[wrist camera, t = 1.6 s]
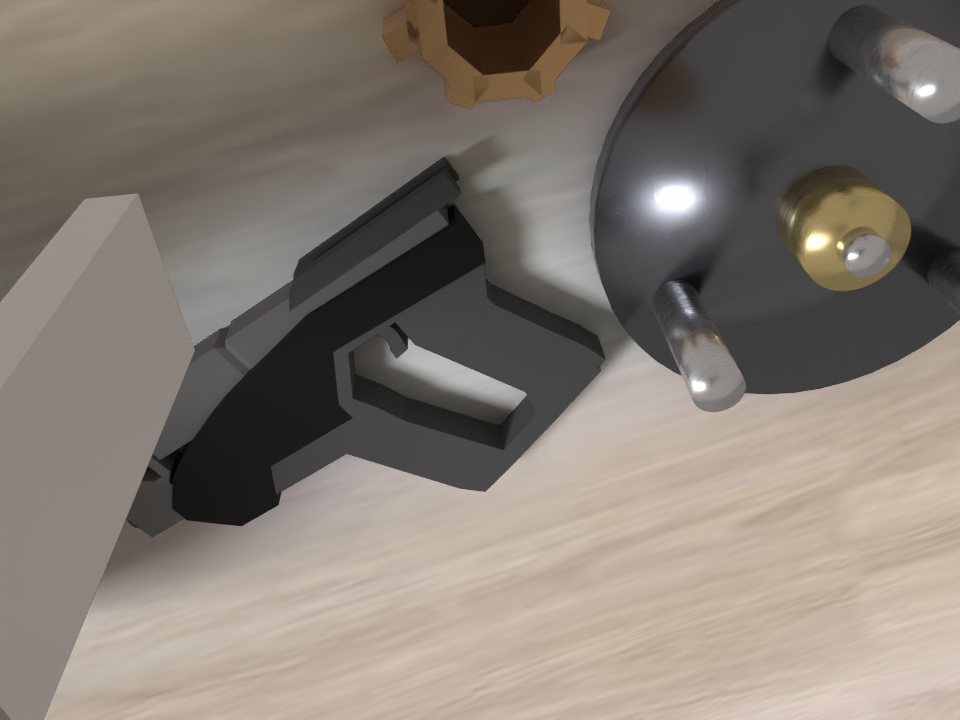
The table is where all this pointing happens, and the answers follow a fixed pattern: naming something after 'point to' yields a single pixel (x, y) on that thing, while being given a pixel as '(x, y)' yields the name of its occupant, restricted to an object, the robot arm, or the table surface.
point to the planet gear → (495, 46)
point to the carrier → (786, 194)
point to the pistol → (331, 372)
